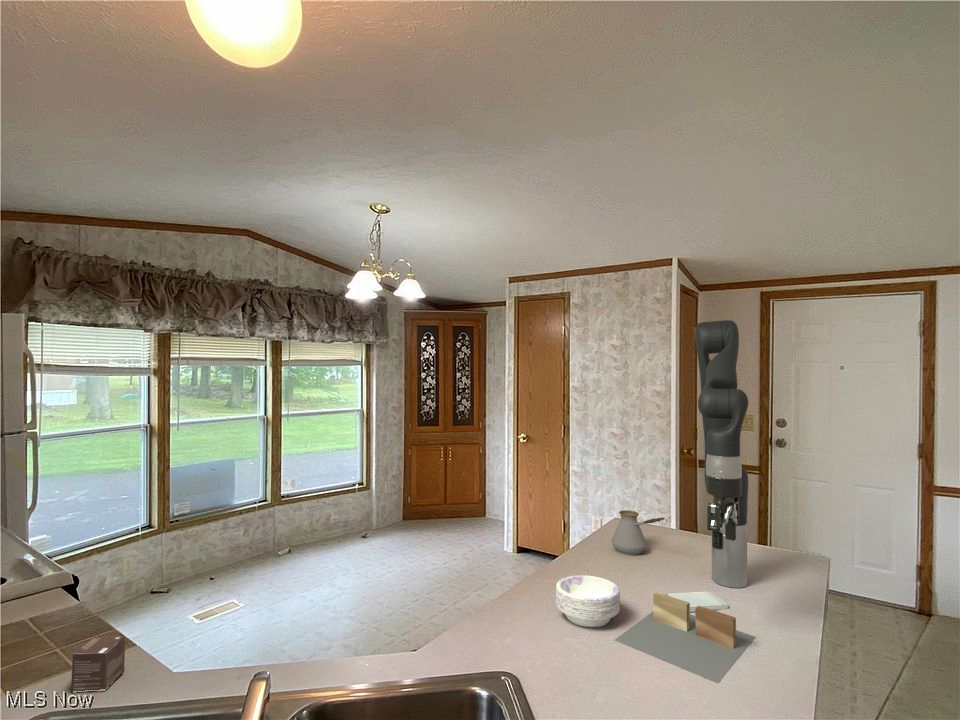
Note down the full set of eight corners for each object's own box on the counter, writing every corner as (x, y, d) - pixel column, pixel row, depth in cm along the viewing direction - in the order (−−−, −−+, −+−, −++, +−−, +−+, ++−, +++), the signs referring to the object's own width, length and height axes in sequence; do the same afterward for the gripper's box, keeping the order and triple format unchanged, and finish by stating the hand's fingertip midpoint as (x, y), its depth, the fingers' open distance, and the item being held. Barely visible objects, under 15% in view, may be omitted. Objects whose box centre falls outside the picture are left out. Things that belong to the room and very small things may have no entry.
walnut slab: (698, 632, 114) (698, 605, 114) (736, 645, 109) (735, 617, 109) (695, 634, 113) (695, 608, 113) (733, 648, 107) (733, 620, 107)
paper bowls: (572, 599, 132) (572, 568, 132) (628, 615, 123) (628, 582, 123) (544, 622, 119) (544, 588, 120) (605, 642, 110) (605, 605, 111)
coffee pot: (604, 548, 171) (604, 504, 171) (629, 543, 176) (629, 500, 176) (652, 570, 152) (651, 520, 152) (678, 563, 157) (678, 515, 157)
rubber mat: (661, 606, 128) (661, 604, 128) (756, 638, 112) (756, 636, 112) (614, 641, 110) (614, 639, 111) (717, 685, 95) (717, 683, 95)
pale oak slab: (656, 617, 121) (656, 592, 121) (689, 628, 116) (689, 602, 116) (653, 619, 120) (653, 594, 120) (686, 631, 114) (686, 605, 114)
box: (92, 674, 97) (93, 636, 98) (125, 673, 98) (126, 635, 98) (69, 694, 91) (71, 653, 92) (104, 692, 92) (105, 652, 92)
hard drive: (684, 606, 123) (728, 603, 126) (665, 593, 131) (707, 590, 134) (684, 613, 123) (728, 610, 126) (665, 599, 131) (707, 596, 134)
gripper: (717, 467, 124) (718, 533, 124) (695, 476, 114) (695, 547, 114) (750, 472, 119) (751, 540, 118) (729, 481, 109) (730, 556, 108)
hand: (724, 544), depth 116 cm, fingers open, 8 cm apart
